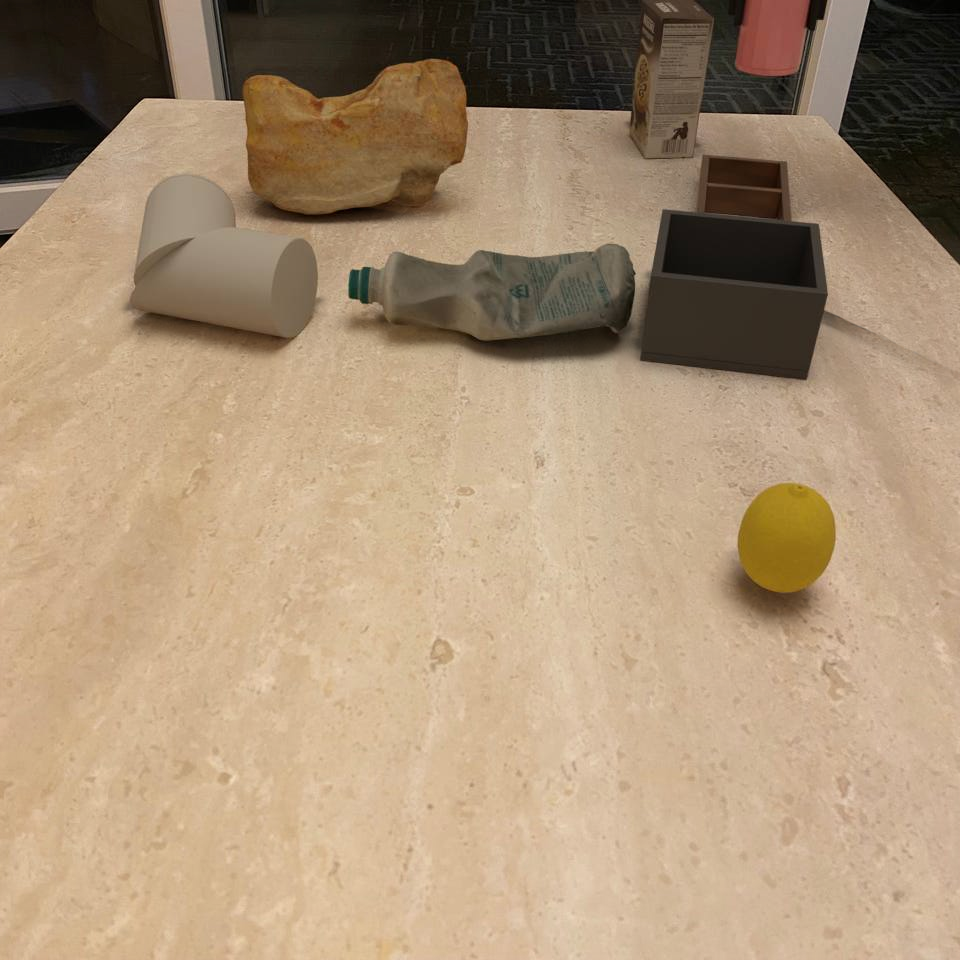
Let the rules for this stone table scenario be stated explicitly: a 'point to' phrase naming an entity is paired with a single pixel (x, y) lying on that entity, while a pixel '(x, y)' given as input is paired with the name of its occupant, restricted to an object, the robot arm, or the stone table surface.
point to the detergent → (504, 292)
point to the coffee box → (669, 77)
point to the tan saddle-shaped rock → (355, 139)
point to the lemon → (786, 537)
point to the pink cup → (772, 36)
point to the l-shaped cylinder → (219, 263)
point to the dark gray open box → (735, 294)
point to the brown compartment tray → (744, 187)
